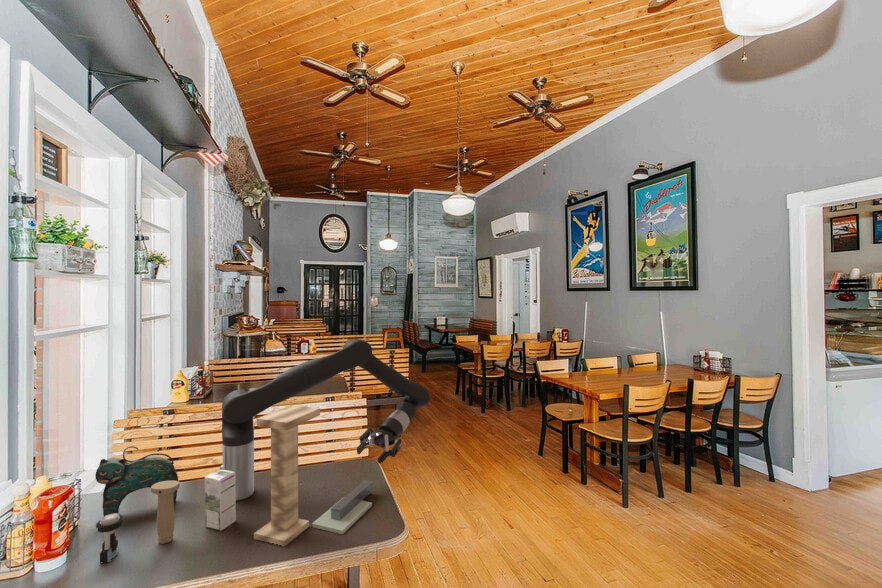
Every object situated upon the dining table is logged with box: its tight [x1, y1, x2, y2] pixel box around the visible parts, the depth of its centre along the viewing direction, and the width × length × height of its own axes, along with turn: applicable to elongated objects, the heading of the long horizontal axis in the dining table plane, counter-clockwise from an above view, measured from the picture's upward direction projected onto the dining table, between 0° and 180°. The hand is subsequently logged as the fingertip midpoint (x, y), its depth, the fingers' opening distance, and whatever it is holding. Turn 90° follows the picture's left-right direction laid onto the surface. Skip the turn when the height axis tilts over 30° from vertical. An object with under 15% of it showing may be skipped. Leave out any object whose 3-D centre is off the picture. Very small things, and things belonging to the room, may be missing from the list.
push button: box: [95, 513, 124, 564], centre depth 105 cm, size 7×5×10 cm
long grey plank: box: [330, 479, 374, 521], centre depth 129 cm, size 3×19×3 cm, turn 160°
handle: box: [150, 480, 181, 545], centre depth 111 cm, size 5×6×15 cm
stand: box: [253, 404, 321, 548], centre depth 117 cm, size 10×15×32 cm, turn 160°
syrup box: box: [204, 468, 237, 531], centre depth 119 cm, size 6×6×14 cm
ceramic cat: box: [94, 445, 179, 517], centre depth 126 cm, size 20×6×20 cm, turn 123°
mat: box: [311, 496, 373, 535], centre depth 123 cm, size 10×16×1 cm, turn 160°
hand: (368, 456), depth 139 cm, fingers open, 8 cm apart
